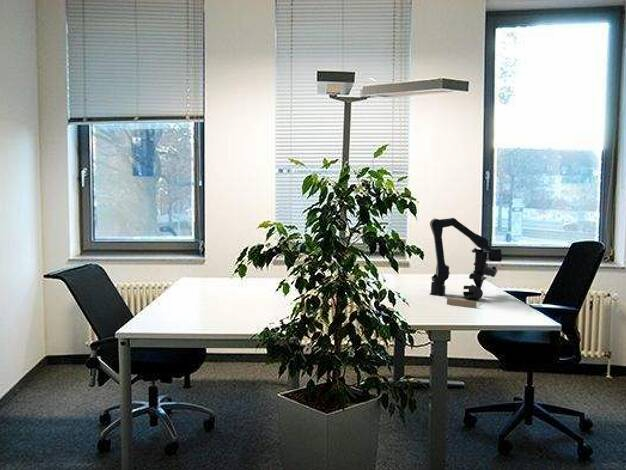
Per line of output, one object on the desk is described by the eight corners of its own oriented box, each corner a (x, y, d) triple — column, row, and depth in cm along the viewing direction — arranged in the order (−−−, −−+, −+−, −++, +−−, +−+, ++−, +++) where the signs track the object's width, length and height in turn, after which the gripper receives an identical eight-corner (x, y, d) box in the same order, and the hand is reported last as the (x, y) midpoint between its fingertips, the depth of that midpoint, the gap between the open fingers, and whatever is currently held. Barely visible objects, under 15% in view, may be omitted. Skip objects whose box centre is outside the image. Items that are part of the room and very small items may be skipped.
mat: (446, 304, 313) (447, 298, 312) (456, 299, 326) (456, 293, 326) (475, 308, 306) (475, 301, 306) (483, 302, 319) (484, 296, 319)
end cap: (482, 301, 322) (483, 287, 321) (468, 301, 322) (469, 287, 321) (476, 297, 332) (477, 284, 331) (462, 297, 332) (463, 284, 331)
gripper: (491, 264, 323) (490, 295, 325) (500, 260, 340) (498, 290, 341) (469, 262, 329) (468, 293, 330) (479, 258, 345) (477, 287, 346)
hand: (479, 290), depth 337 cm, fingers closed
